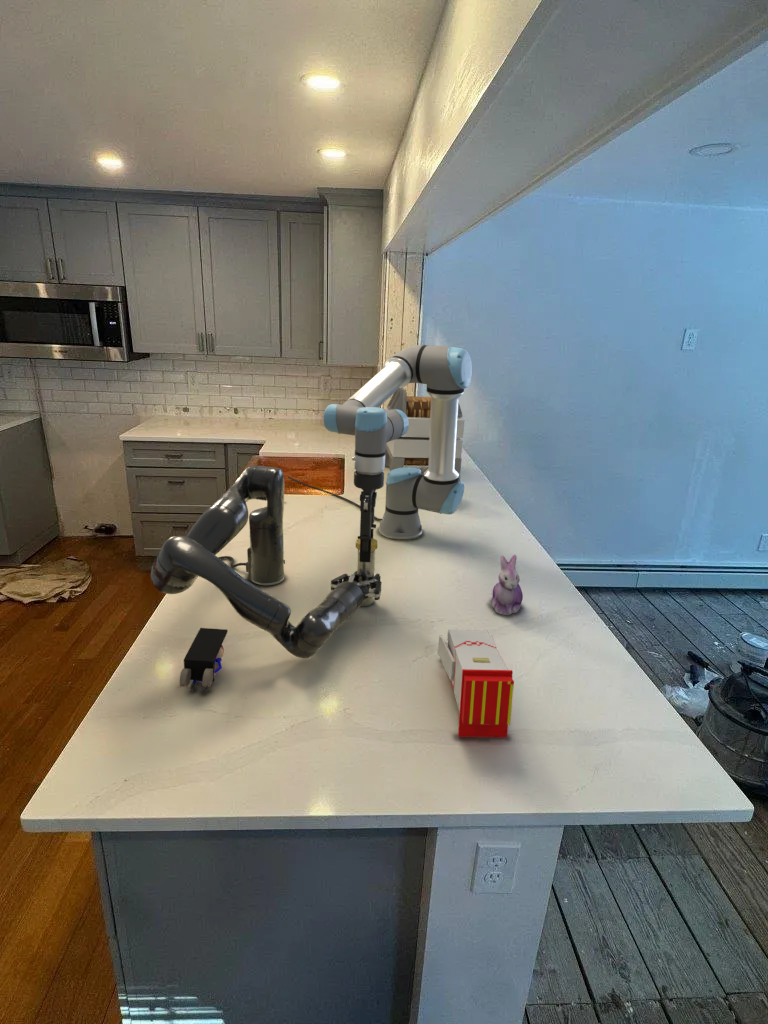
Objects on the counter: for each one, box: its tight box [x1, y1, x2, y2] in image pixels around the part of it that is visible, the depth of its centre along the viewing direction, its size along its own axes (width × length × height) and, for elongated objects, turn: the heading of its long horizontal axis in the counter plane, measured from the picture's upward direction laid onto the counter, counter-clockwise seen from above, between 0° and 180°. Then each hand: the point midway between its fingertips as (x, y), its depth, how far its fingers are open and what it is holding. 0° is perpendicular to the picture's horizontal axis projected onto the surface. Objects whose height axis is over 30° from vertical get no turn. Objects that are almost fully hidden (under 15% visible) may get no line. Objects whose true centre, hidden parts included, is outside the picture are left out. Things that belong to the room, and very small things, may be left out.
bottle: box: [356, 549, 376, 607], centre depth 150 cm, size 4×4×17 cm
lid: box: [355, 537, 379, 551], centre depth 147 cm, size 6×6×2 cm
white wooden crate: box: [385, 387, 465, 480], centre depth 268 cm, size 34×33×41 cm
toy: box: [437, 628, 515, 738], centre depth 117 cm, size 12×13×30 cm
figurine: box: [491, 554, 524, 616], centre depth 150 cm, size 9×10×15 cm
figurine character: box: [178, 627, 228, 692], centre depth 119 cm, size 7×8×15 cm
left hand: (369, 575), depth 153 cm, fingers closed on bottle, 4 cm apart
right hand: (366, 556), depth 148 cm, fingers closed on lid, 5 cm apart
